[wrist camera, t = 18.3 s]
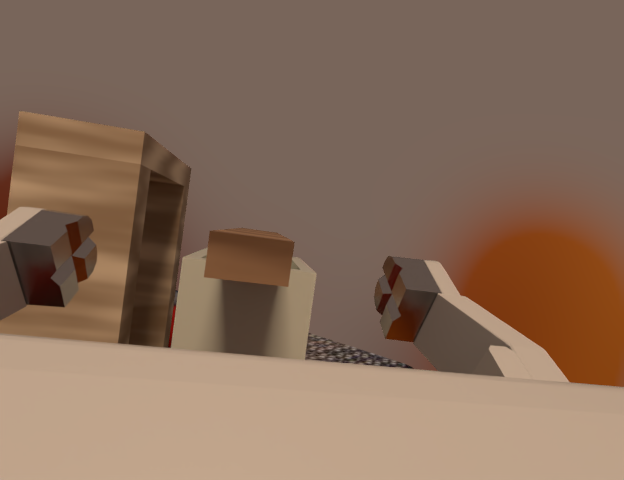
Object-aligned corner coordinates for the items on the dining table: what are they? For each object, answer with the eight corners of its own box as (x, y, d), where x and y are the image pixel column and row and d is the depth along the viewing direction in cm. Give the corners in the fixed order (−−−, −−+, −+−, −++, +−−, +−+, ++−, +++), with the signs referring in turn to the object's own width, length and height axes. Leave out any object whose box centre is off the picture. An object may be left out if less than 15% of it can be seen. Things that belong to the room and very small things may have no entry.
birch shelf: (92, 543, 22) (144, 131, 22) (-32, 542, 21) (19, 110, 21) (158, 421, 36) (191, 168, 35) (85, 417, 35) (117, 157, 34)
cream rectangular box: (280, 532, 25) (316, 273, 24) (147, 530, 24) (182, 257, 23) (275, 433, 37) (299, 257, 36) (186, 428, 35) (210, 246, 35)
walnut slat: (288, 286, 17) (294, 242, 17) (203, 277, 16) (210, 230, 16) (274, 251, 41) (276, 232, 41) (239, 247, 40) (241, 228, 40)
